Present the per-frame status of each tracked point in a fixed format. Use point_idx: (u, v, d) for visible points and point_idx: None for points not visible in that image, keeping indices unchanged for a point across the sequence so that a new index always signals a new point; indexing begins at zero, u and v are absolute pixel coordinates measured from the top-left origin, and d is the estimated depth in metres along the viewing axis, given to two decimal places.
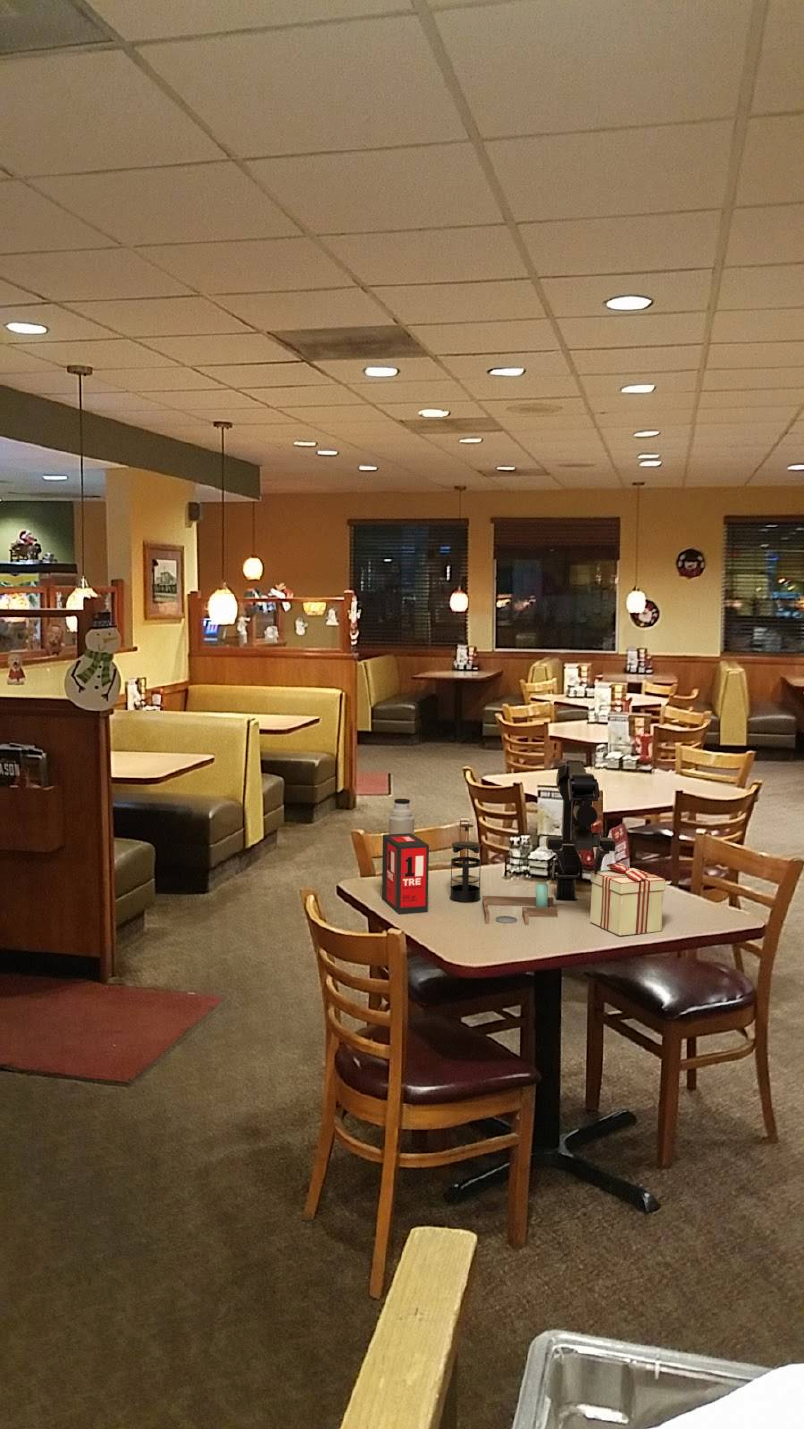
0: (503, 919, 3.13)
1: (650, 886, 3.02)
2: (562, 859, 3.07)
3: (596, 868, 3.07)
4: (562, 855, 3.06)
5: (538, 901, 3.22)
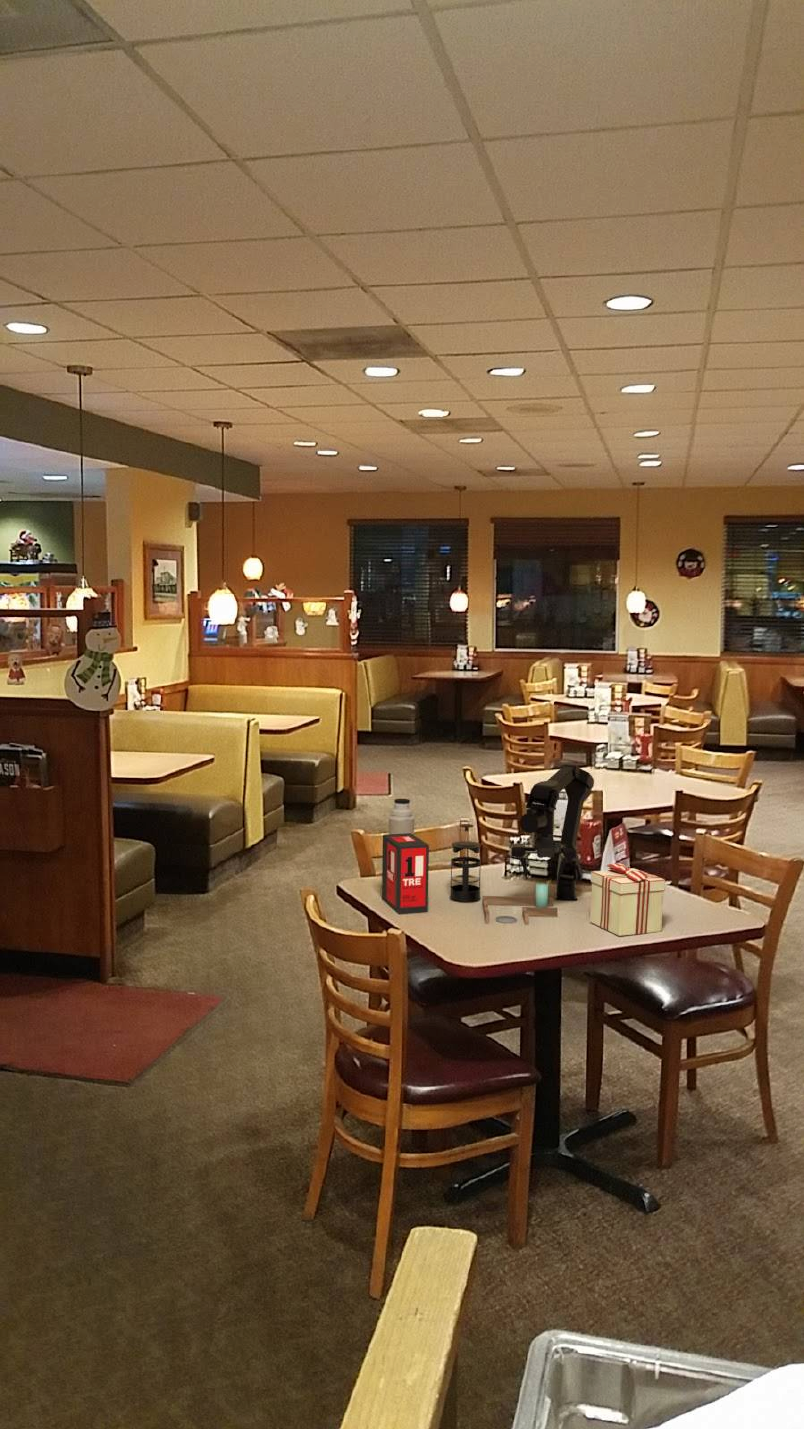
0: (503, 919, 3.13)
1: (650, 886, 3.02)
2: (525, 865, 3.21)
3: (559, 874, 3.21)
4: (525, 862, 3.20)
5: (538, 901, 3.22)
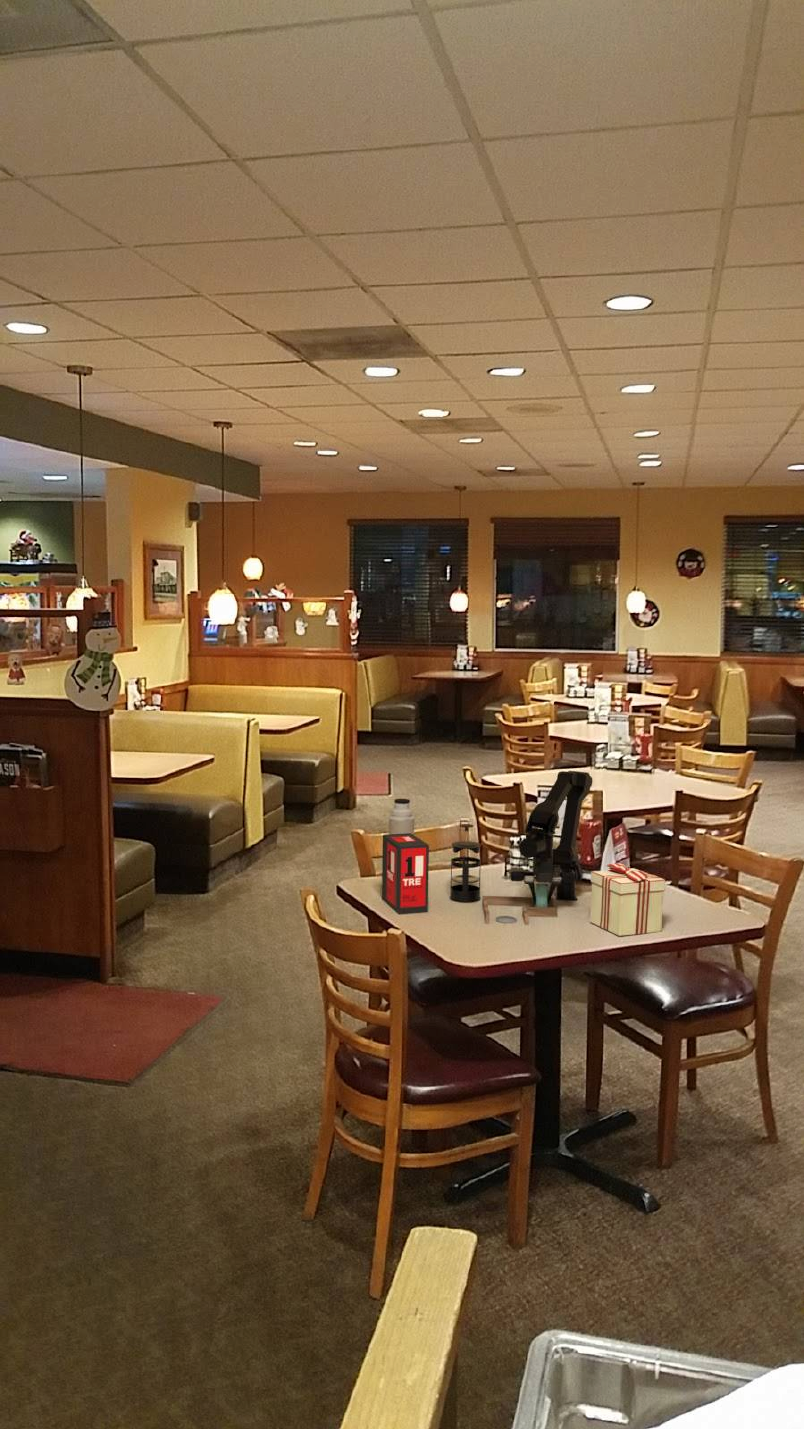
0: (503, 919, 3.13)
1: (650, 886, 3.02)
2: (533, 889, 3.22)
3: (549, 898, 3.22)
4: (533, 886, 3.21)
5: (538, 901, 3.22)
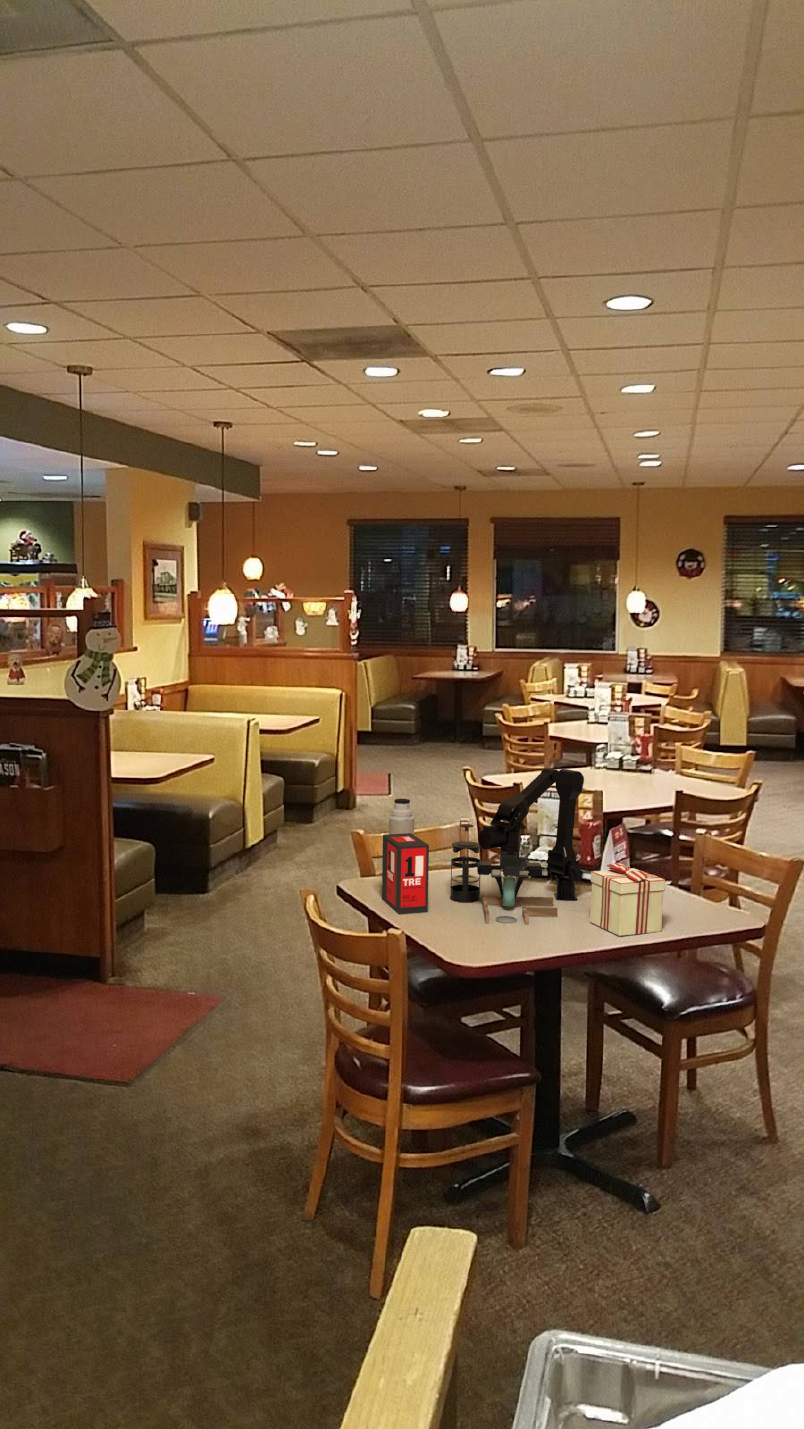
0: (503, 919, 3.13)
1: (650, 886, 3.02)
2: (500, 883, 3.22)
3: (516, 892, 3.22)
4: (500, 880, 3.21)
5: (505, 895, 3.22)
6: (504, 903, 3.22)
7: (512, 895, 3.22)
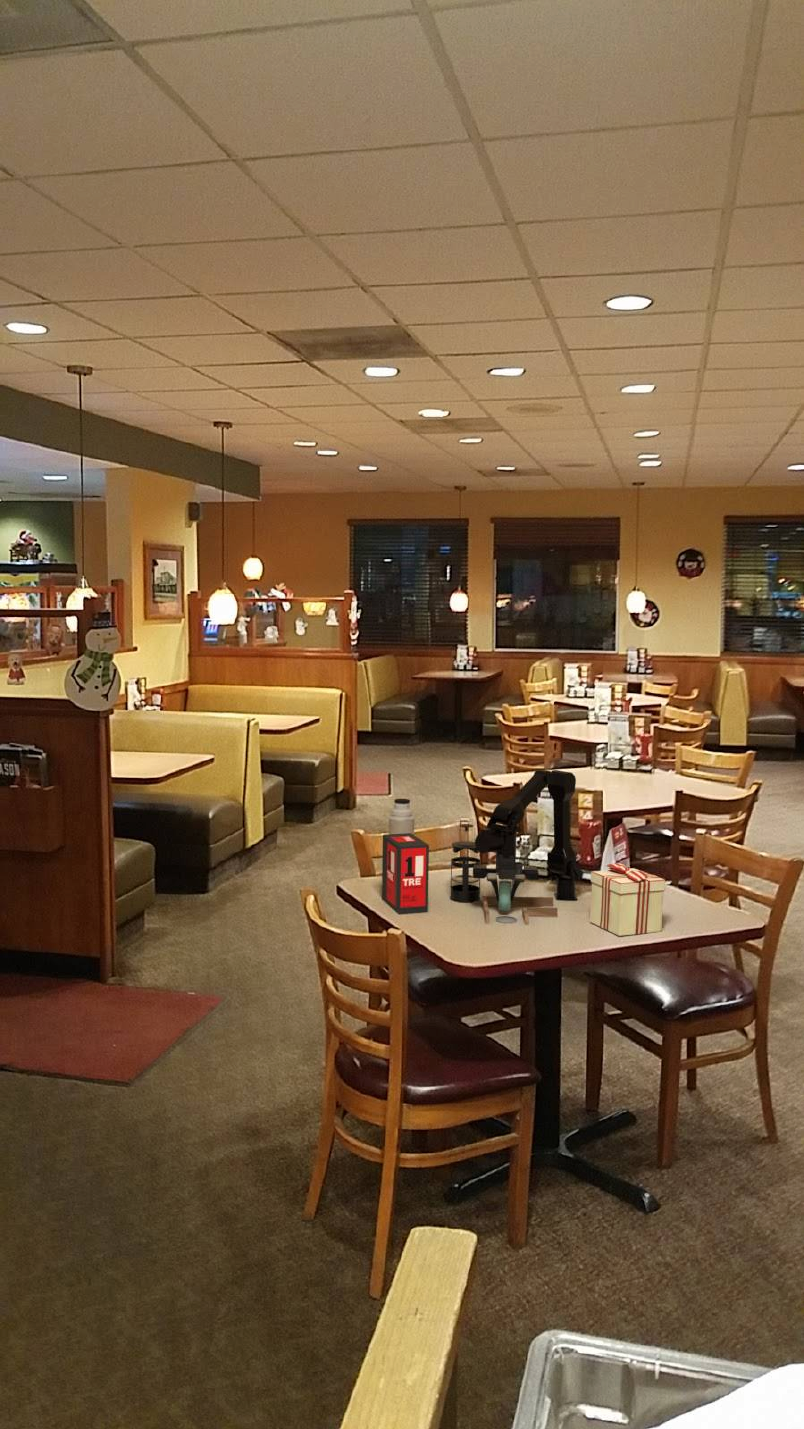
0: (503, 919, 3.13)
1: (650, 886, 3.02)
2: (496, 887, 3.17)
3: (512, 895, 3.18)
4: (496, 883, 3.17)
5: (501, 899, 3.17)
6: (499, 907, 3.18)
7: (508, 899, 3.17)
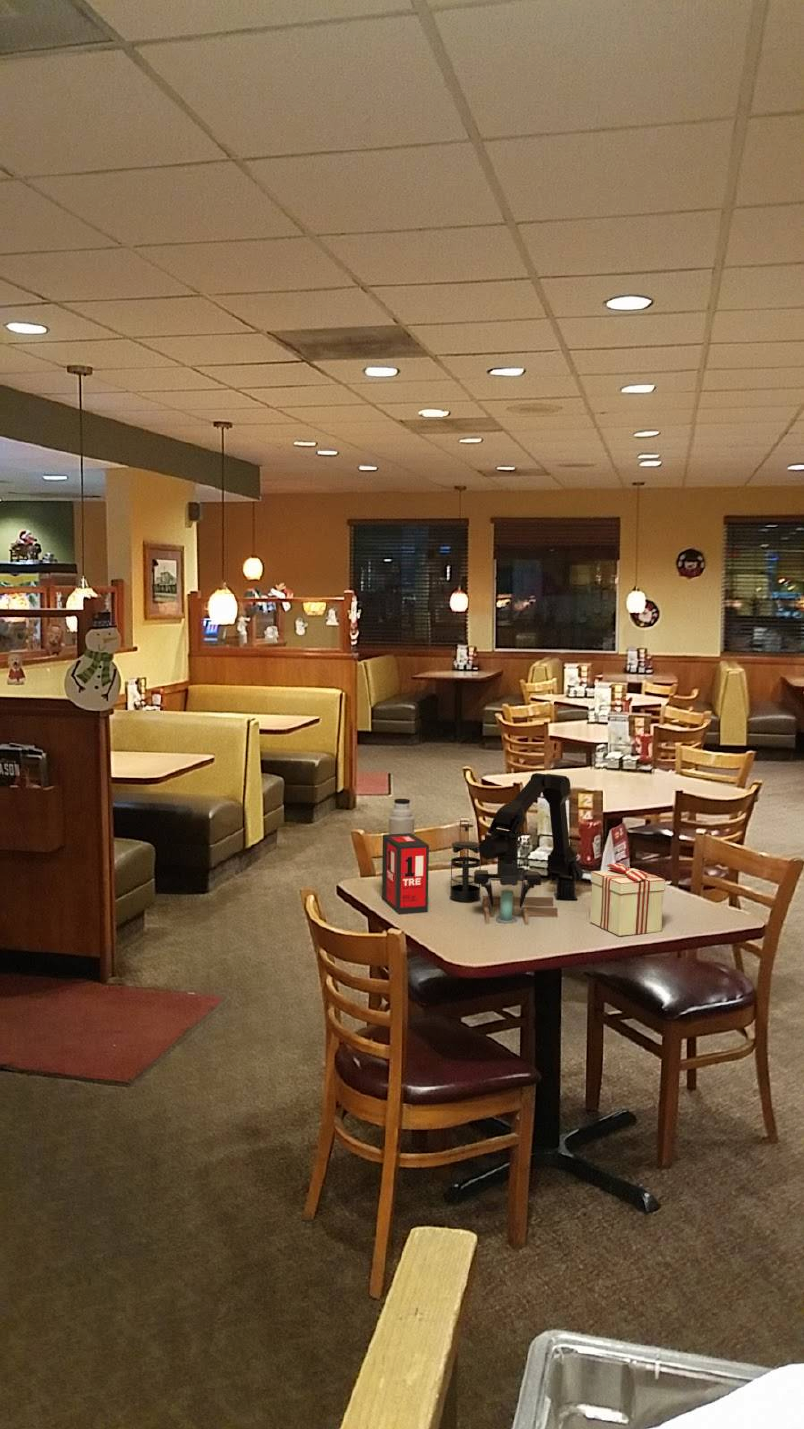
0: None
1: (650, 886, 3.02)
2: (490, 892, 3.12)
3: (521, 901, 3.12)
4: (490, 889, 3.11)
5: (503, 909, 3.12)
6: (501, 917, 3.13)
7: (510, 909, 3.12)
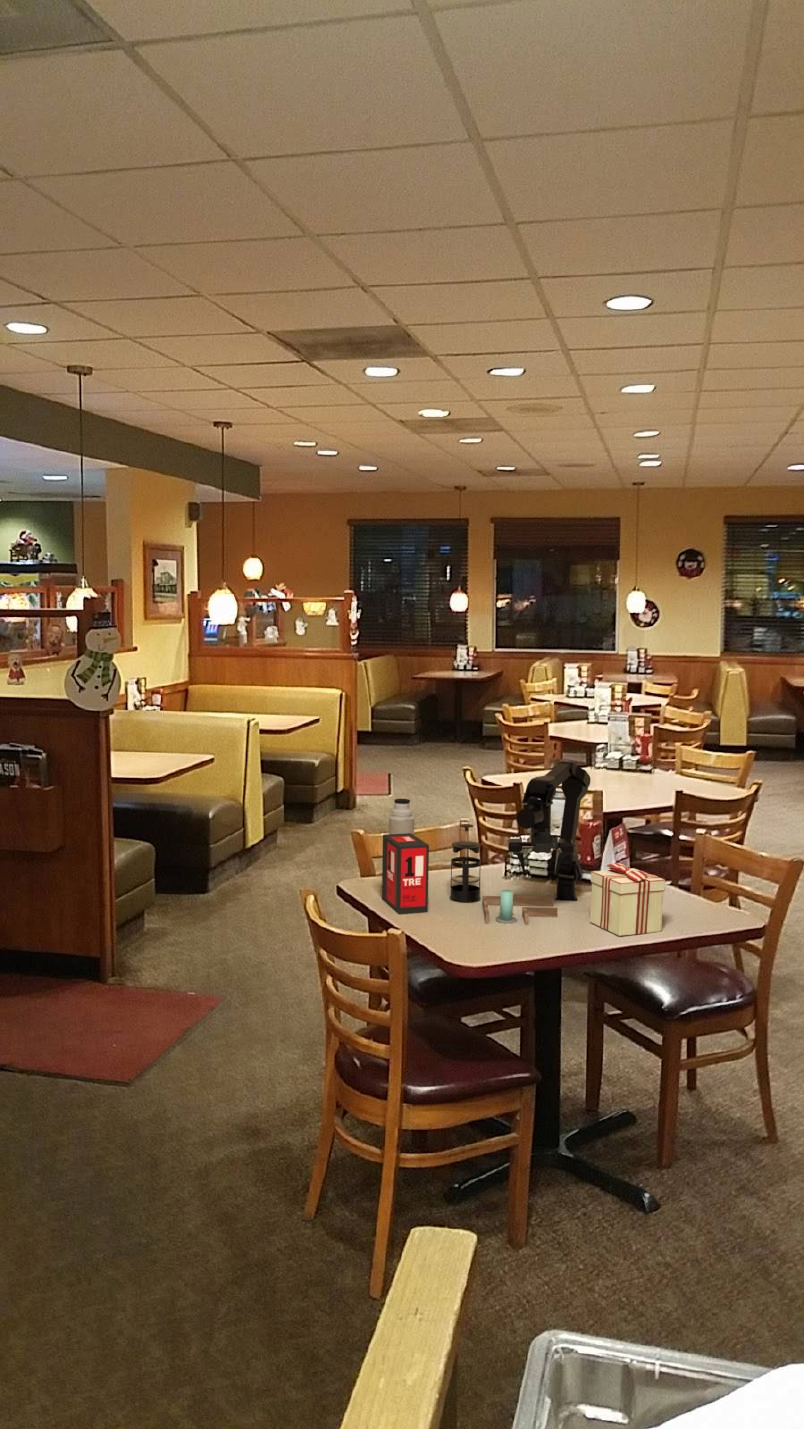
0: None
1: (650, 886, 3.02)
2: (522, 860, 3.19)
3: (556, 869, 3.19)
4: (522, 857, 3.18)
5: (503, 909, 3.12)
6: (501, 918, 3.13)
7: (510, 909, 3.12)
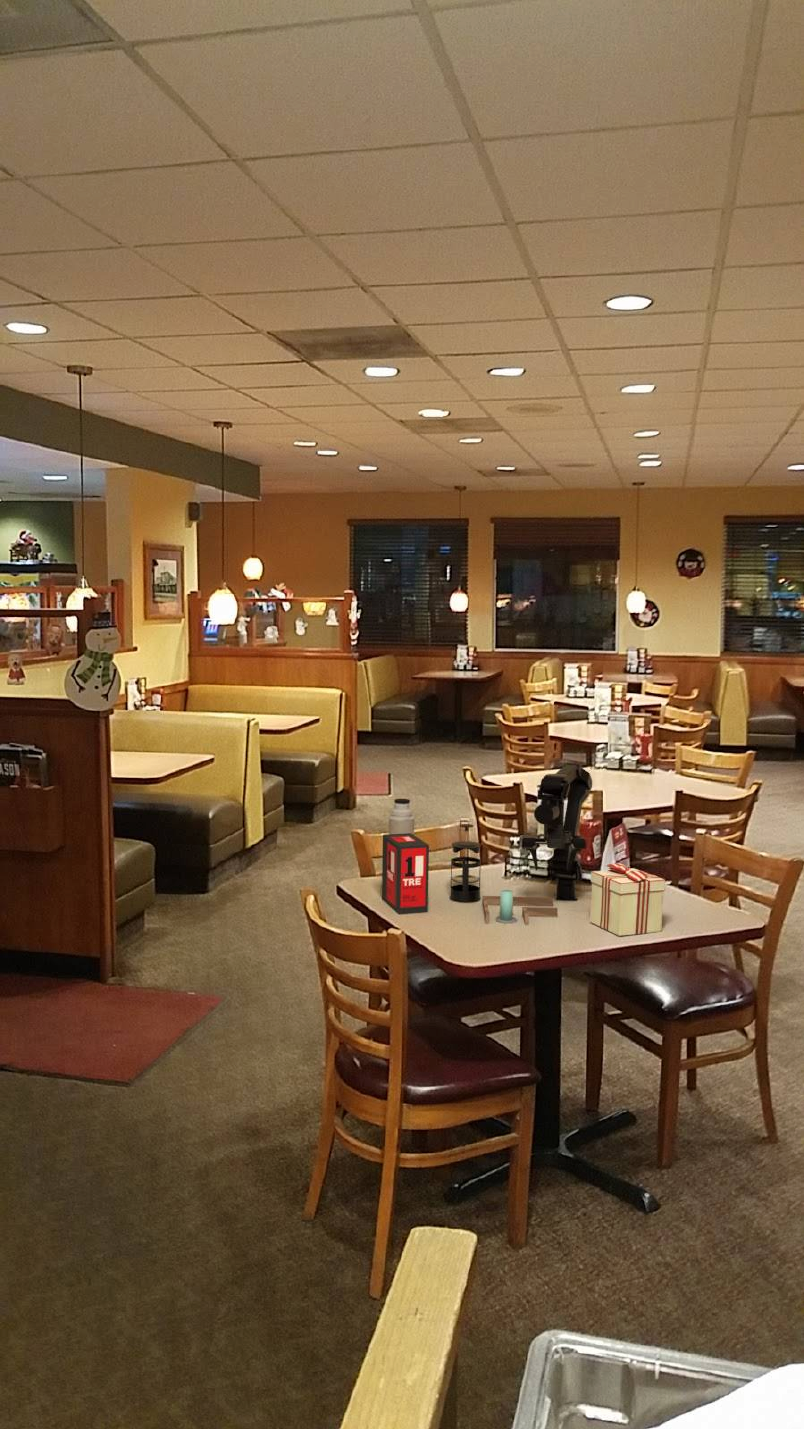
0: None
1: (650, 886, 3.02)
2: (535, 856, 3.22)
3: (569, 865, 3.22)
4: (535, 852, 3.21)
5: (503, 909, 3.12)
6: (501, 918, 3.13)
7: (510, 909, 3.12)
